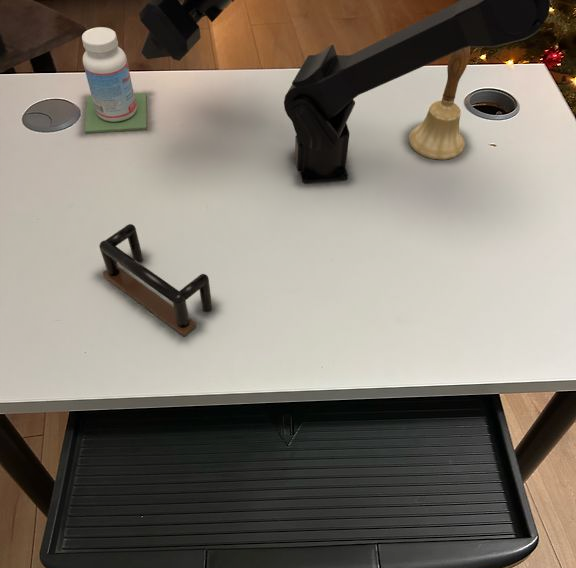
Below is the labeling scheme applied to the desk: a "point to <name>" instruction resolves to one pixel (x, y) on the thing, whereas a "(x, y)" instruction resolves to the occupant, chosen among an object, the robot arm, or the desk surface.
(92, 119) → the felt mat
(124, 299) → the desk surface
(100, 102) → the pill bottle
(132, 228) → the rail rack
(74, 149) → the desk surface
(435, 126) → the hand bell
